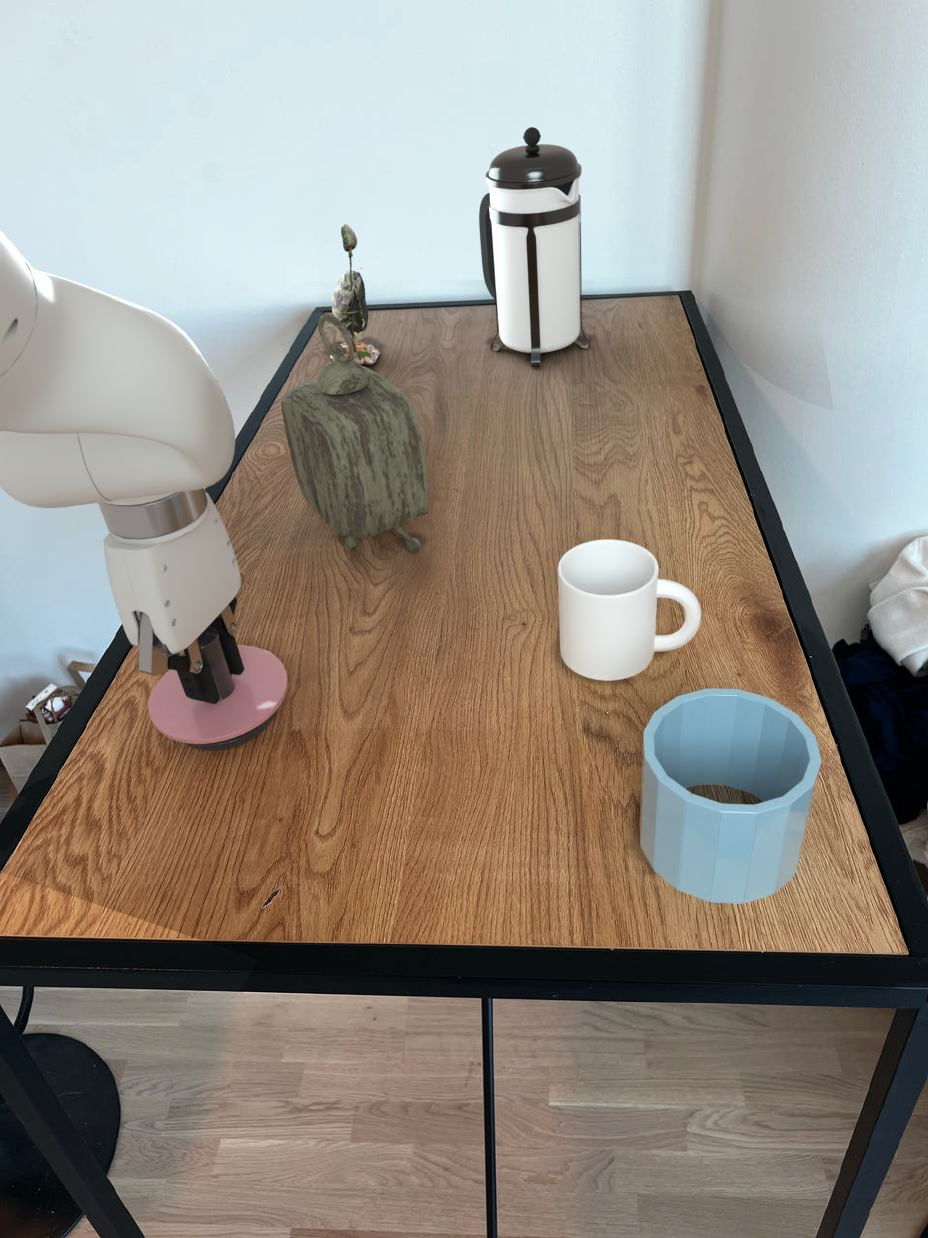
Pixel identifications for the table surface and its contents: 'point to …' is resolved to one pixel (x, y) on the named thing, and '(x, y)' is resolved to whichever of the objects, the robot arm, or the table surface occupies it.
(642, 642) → the mug
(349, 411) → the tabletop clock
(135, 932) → the table surface
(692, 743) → the hollow cylinder
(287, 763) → the table surface
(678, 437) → the table surface
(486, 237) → the coffee press
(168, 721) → the lid
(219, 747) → the coaster
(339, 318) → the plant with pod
